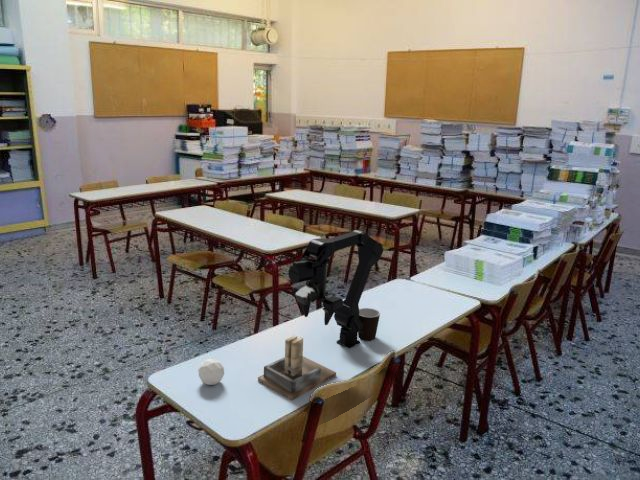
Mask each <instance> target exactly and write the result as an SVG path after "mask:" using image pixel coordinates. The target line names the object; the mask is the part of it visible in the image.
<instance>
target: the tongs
mask: <svg viewBox="0 0 640 480" xmlns="http://www.w3.org/2000/svg"><path fill="white" fill-rule="evenodd" d="M284 341H285V343H284V344H285V346H284V357H285V365H284V368H285V376H287V377H289V378H290V379H292V380H295V379H296V378H298V377H300V376H302V366H303V363H302V362H303V356H304V354H303V353H304V337H300V336H299V337H298V336H297V335H294V334H293V335H291V336H290V337H289V338H287V339H285V340H284Z"/></svg>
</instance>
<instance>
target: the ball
mask: <svg viewBox="0 0 640 480" xmlns="http://www.w3.org/2000/svg"><path fill="white" fill-rule="evenodd" d="M224 368H225V367H224V366H223V364H222V363H221V361H220V360H217V359H215V358H208V359H206V360H205V361H202V362H201V364H200V366H199V368H198V370H197V371H198V377H199V379H200V381H201V383H203V384H205V385H207V386H215V385H217V384H218V383H220V382H221V381H222V379H223V378H224V375H225V369H224Z"/></svg>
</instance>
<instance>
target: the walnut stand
mask: <svg viewBox="0 0 640 480" xmlns="http://www.w3.org/2000/svg"><path fill="white" fill-rule="evenodd" d="M302 363H303V366H302V376H300V377H298V378H296V379H295V380H292V379H290V378H289V377H287V376H285V368H284V365H285V356H284V357H282V358H280V359H278V360H275V361H273V362H271V363H269V364H267V365H265V366H263V374H262V375H260V376H258V377H257V381H258V382H260V383H261V384H263V385H265V386H266V387H268V388H270V389H272V390H273V391H275V392H277V393H279V394H281V395H282V396H284V397H286V398H287V399H289V400H291V401H293V400H296V399H297V398H299V397H300V396H301V395H303V394H305V393H307V392H309V391H310V390H313V389H314V388H316V387H318V386H320V385H322V384H323V383H325V382H327V381H329V380H332V379H333V378H334V377H336V376H337V372H336V371H335V370H332V369H331V368H328V367H326V366H324V365H322V364H320V363H318V362H316V361H314V360H311V359H309V358H307V357H306V356H304V355H303V362H302Z"/></svg>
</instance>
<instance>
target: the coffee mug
mask: <svg viewBox="0 0 640 480" xmlns="http://www.w3.org/2000/svg"><path fill="white" fill-rule="evenodd" d="M359 312H360V313H359V317H358V319H359V320H360V321H361V322H362V323H363V328H362V330H360V331H359V332H358V335H357V338H358V337H359V338H360V339H359V338H358V339H359V340H361V341H363V340H364V341H363V342H372V341H371V340H373V341H374V340H376V335H377V332H378V328H379V327H378V326H379V321H380V315H381V312H380V311H379V310H377V309H375V308H371V307H370V308H369V307H364V308H359Z"/></svg>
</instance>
